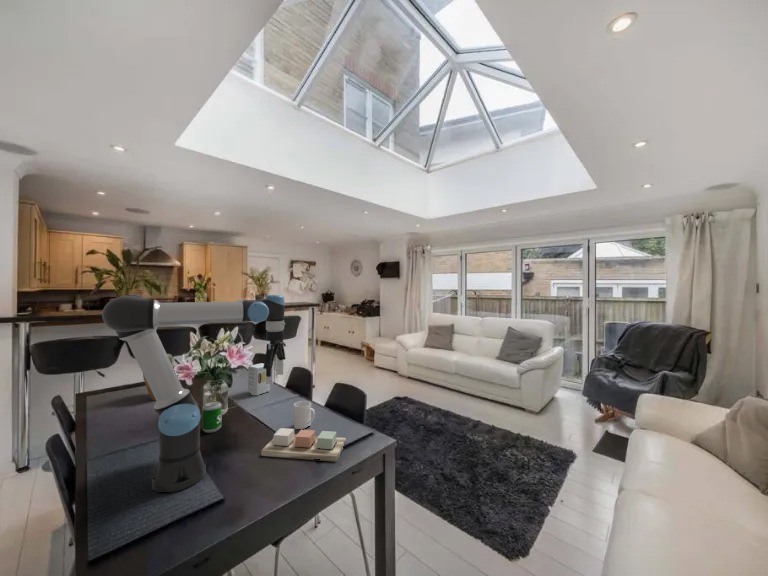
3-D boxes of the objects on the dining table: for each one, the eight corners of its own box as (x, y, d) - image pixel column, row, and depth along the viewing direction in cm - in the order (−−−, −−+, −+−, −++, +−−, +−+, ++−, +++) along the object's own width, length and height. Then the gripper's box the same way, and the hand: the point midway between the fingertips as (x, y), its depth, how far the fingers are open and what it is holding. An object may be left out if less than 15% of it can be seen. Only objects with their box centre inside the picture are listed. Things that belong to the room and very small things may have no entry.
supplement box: (256, 396, 182) (256, 368, 181) (247, 393, 187) (247, 365, 186) (270, 392, 190) (270, 364, 189) (261, 389, 195) (261, 362, 195)
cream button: (288, 446, 122) (288, 435, 122) (273, 444, 123) (273, 434, 123) (294, 438, 128) (294, 428, 128) (280, 437, 129) (280, 428, 129)
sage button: (332, 449, 120) (332, 439, 120) (317, 448, 121) (317, 438, 120) (336, 441, 126) (336, 431, 126) (322, 440, 126) (322, 430, 126)
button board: (336, 461, 115) (336, 456, 115) (261, 455, 119) (261, 450, 119) (345, 442, 129) (345, 437, 129) (278, 437, 133) (278, 433, 133)
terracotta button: (309, 447, 121) (309, 437, 121) (295, 446, 122) (295, 436, 122) (315, 440, 127) (315, 430, 127) (301, 439, 128) (301, 429, 128)
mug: (290, 426, 143) (290, 404, 143) (303, 420, 150) (303, 399, 150) (307, 434, 136) (307, 410, 136) (320, 428, 143) (320, 405, 142)
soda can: (213, 434, 136) (213, 407, 135) (198, 432, 137) (198, 405, 137) (225, 426, 143) (225, 401, 143) (211, 425, 144) (211, 399, 144)
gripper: (273, 335, 122) (273, 388, 122) (292, 326, 147) (291, 371, 147) (254, 334, 122) (254, 388, 122) (276, 326, 147) (276, 370, 147)
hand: (275, 379), depth 134 cm, fingers open, 13 cm apart
